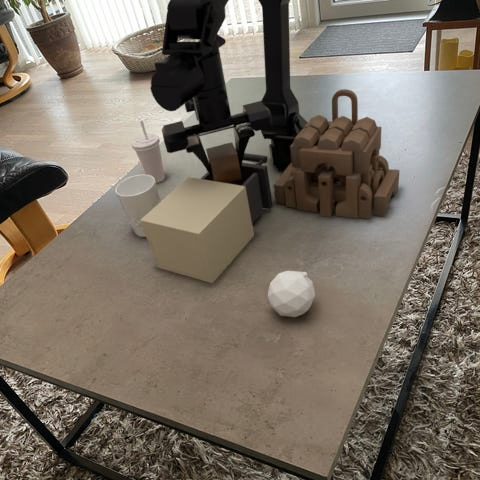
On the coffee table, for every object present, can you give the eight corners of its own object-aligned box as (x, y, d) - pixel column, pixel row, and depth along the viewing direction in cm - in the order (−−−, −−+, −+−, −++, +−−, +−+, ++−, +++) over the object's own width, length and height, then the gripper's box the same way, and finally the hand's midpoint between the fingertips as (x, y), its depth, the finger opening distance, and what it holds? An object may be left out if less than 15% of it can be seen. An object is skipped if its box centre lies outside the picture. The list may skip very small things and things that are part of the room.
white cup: (139, 244, 97) (122, 201, 90) (127, 226, 102) (110, 184, 95) (174, 228, 99) (160, 185, 92) (161, 212, 104) (147, 169, 97)
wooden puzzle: (271, 209, 98) (258, 118, 85) (299, 172, 106) (291, 84, 93) (380, 224, 88) (385, 124, 75) (401, 182, 97) (409, 85, 84)
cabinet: (201, 223, 98) (188, 176, 91) (254, 235, 93) (245, 186, 85) (157, 267, 91) (139, 220, 83) (212, 283, 85) (198, 233, 77)
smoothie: (165, 185, 112) (147, 126, 102) (140, 186, 114) (120, 129, 104) (173, 171, 116) (157, 113, 106) (149, 172, 118) (130, 115, 108)
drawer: (237, 185, 105) (229, 147, 99) (283, 193, 99) (279, 153, 93) (188, 234, 95) (177, 194, 89) (237, 245, 90) (229, 204, 83)
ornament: (274, 291, 80) (300, 254, 76) (306, 321, 78) (334, 284, 74) (250, 299, 75) (276, 259, 71) (283, 332, 73) (312, 293, 68)
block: (236, 166, 93) (232, 141, 89) (242, 179, 89) (237, 153, 86) (211, 173, 93) (205, 148, 89) (215, 185, 89) (209, 160, 86)
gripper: (252, 56, 85) (264, 141, 96) (149, 82, 85) (172, 164, 96) (267, 76, 77) (278, 166, 88) (153, 105, 77) (178, 191, 88)
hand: (225, 171), depth 90 cm, fingers closed on block, 5 cm apart
